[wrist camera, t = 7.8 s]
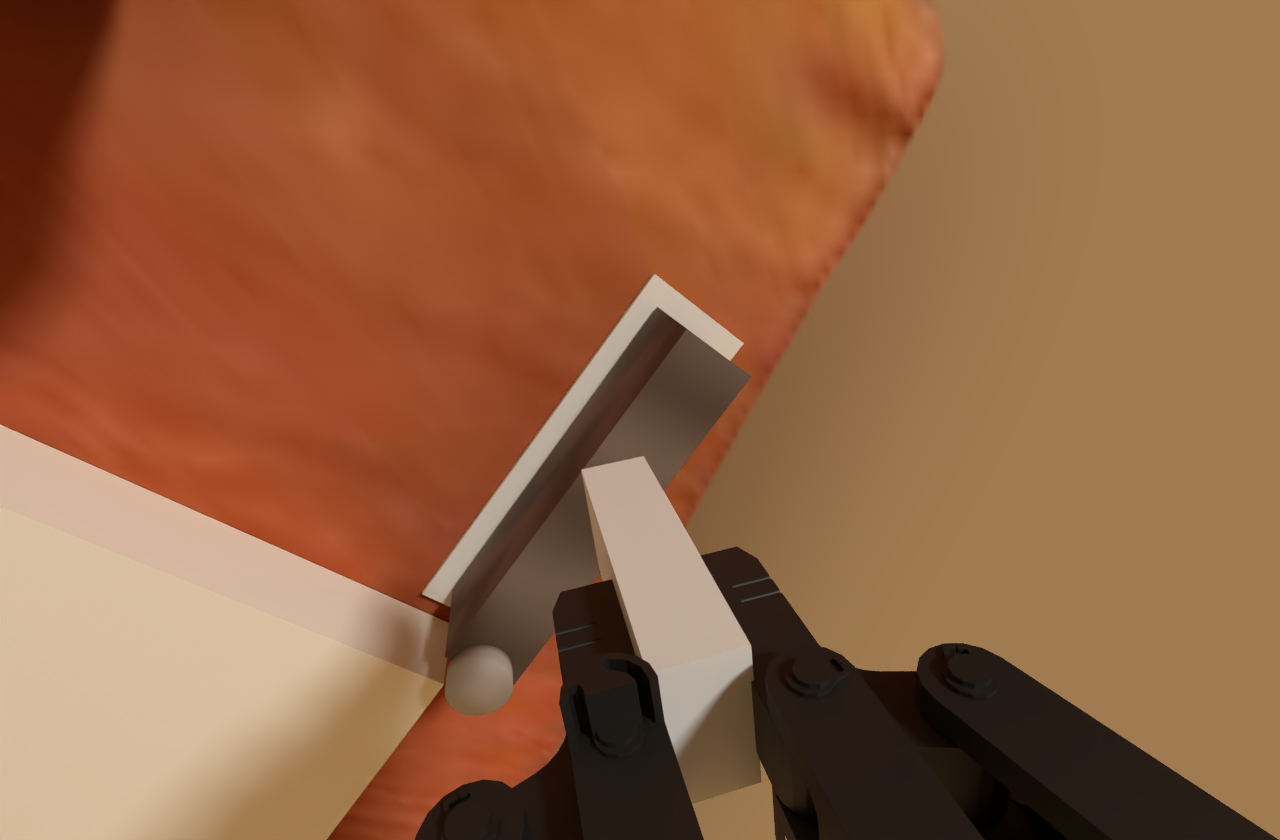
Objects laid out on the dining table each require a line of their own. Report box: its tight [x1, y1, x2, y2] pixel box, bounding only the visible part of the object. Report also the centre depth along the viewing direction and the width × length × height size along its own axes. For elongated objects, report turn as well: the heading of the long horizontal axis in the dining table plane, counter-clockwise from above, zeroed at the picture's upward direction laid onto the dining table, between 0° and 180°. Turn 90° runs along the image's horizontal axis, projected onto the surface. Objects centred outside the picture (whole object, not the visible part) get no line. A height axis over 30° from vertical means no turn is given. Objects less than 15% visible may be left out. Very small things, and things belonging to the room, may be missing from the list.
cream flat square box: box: [0, 425, 449, 840], centre depth 26 cm, size 20×20×4 cm
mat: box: [422, 273, 744, 607], centre depth 28 cm, size 5×18×1 cm, turn 143°
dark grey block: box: [445, 307, 751, 715], centre depth 26 cm, size 17×3×6 cm, turn 143°
